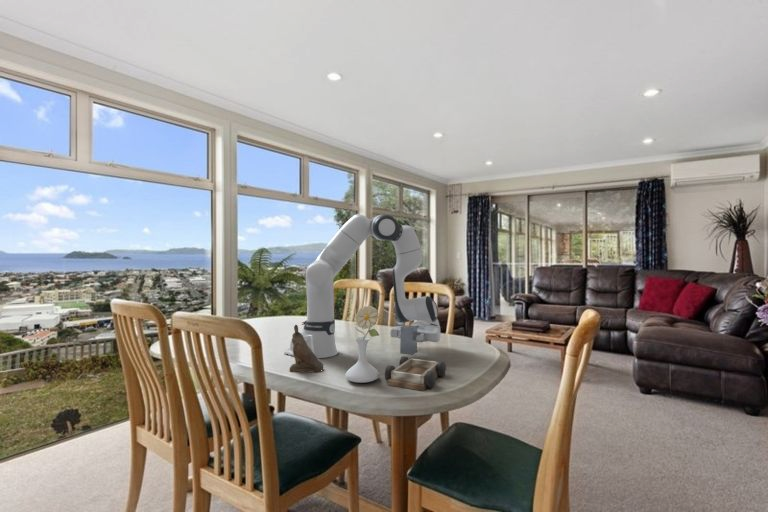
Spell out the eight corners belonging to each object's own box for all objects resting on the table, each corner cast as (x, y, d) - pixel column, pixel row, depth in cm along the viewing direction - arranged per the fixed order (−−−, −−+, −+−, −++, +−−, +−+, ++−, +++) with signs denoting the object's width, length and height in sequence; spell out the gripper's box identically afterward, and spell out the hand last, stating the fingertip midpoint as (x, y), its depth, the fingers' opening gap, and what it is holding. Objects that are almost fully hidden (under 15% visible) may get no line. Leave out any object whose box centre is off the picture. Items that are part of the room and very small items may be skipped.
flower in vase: (337, 380, 124) (338, 304, 124) (362, 372, 132) (362, 301, 132) (366, 390, 115) (366, 308, 115) (390, 380, 124) (390, 304, 124)
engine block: (400, 353, 144) (400, 327, 144) (405, 350, 148) (405, 325, 148) (412, 355, 142) (412, 328, 142) (417, 352, 146) (417, 326, 146)
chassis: (382, 384, 120) (382, 368, 120) (406, 367, 138) (406, 353, 138) (428, 391, 114) (428, 375, 114) (446, 373, 132) (446, 358, 132)
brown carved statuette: (289, 378, 133) (278, 329, 133) (294, 373, 139) (284, 326, 139) (321, 372, 132) (311, 322, 132) (325, 367, 138) (315, 319, 138)
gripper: (397, 321, 161) (383, 326, 149) (443, 325, 153) (433, 332, 140) (397, 336, 161) (383, 342, 149) (443, 341, 153) (433, 348, 140)
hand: (408, 337), depth 144 cm, fingers closed on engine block, 5 cm apart
